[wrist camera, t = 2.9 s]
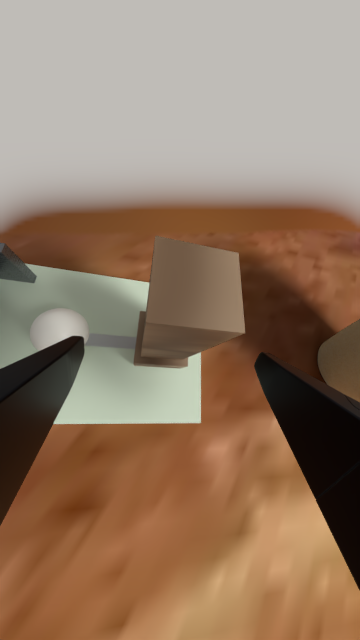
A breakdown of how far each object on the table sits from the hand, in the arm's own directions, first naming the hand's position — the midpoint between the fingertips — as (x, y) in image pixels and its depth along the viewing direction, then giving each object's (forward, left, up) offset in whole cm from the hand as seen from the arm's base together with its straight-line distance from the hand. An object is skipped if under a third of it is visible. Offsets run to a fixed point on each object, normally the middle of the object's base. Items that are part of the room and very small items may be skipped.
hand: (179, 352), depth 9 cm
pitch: (+6, +3, -10) cm, 12 cm away
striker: (+1, -1, -9) cm, 9 cm away
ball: (+8, +4, -7) cm, 11 cm away
